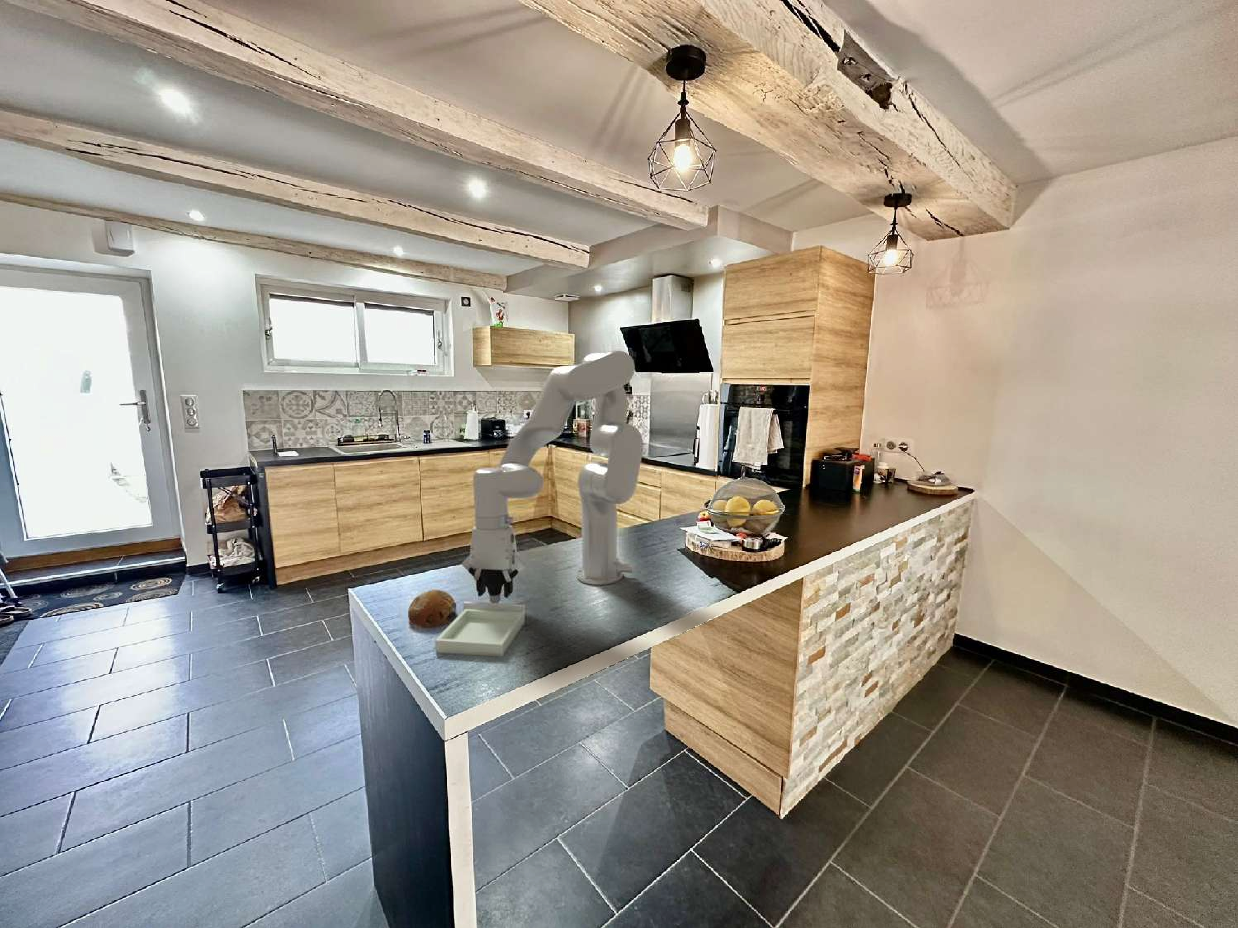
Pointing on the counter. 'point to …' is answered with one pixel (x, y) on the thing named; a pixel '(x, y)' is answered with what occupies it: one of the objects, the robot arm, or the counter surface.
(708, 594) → the counter surface
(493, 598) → the light bulb
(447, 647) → the dish
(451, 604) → the bread roll
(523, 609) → the white flat bar
